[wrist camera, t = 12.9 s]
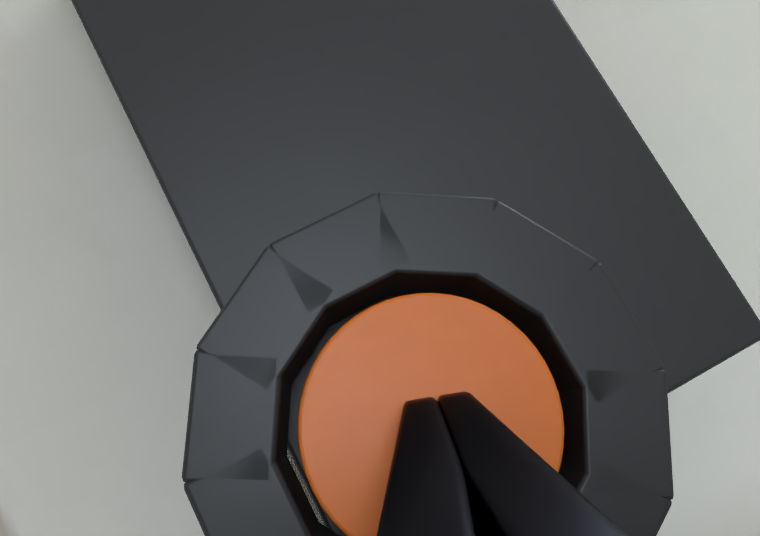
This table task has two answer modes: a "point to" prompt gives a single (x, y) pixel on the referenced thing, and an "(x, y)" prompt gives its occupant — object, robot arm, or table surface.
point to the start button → (414, 393)
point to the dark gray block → (413, 223)
